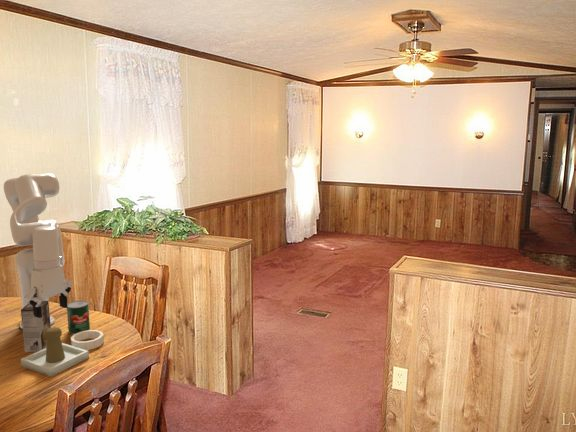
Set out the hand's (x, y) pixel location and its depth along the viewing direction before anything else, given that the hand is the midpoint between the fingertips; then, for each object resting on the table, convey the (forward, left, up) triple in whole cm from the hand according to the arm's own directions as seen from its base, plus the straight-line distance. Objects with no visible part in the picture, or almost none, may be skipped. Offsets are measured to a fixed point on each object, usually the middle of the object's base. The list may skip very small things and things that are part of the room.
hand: (51, 311), depth 163 cm
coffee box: (-15, +5, -18) cm, 24 cm away
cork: (0, 0, -17) cm, 17 cm away
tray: (+1, 0, -18) cm, 18 cm away
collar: (-1, +15, -18) cm, 23 cm away
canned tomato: (-14, +22, -18) cm, 32 cm away
